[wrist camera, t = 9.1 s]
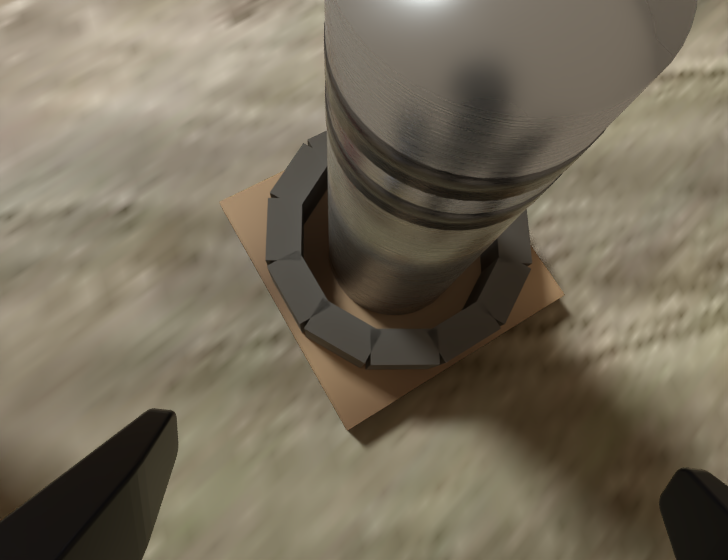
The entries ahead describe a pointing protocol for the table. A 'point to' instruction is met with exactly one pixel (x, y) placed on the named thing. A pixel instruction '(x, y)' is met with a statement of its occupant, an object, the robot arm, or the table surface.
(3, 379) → the table surface
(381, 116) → the cylinder
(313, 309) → the collar
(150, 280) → the table surface
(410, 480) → the table surface
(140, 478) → the robot arm
